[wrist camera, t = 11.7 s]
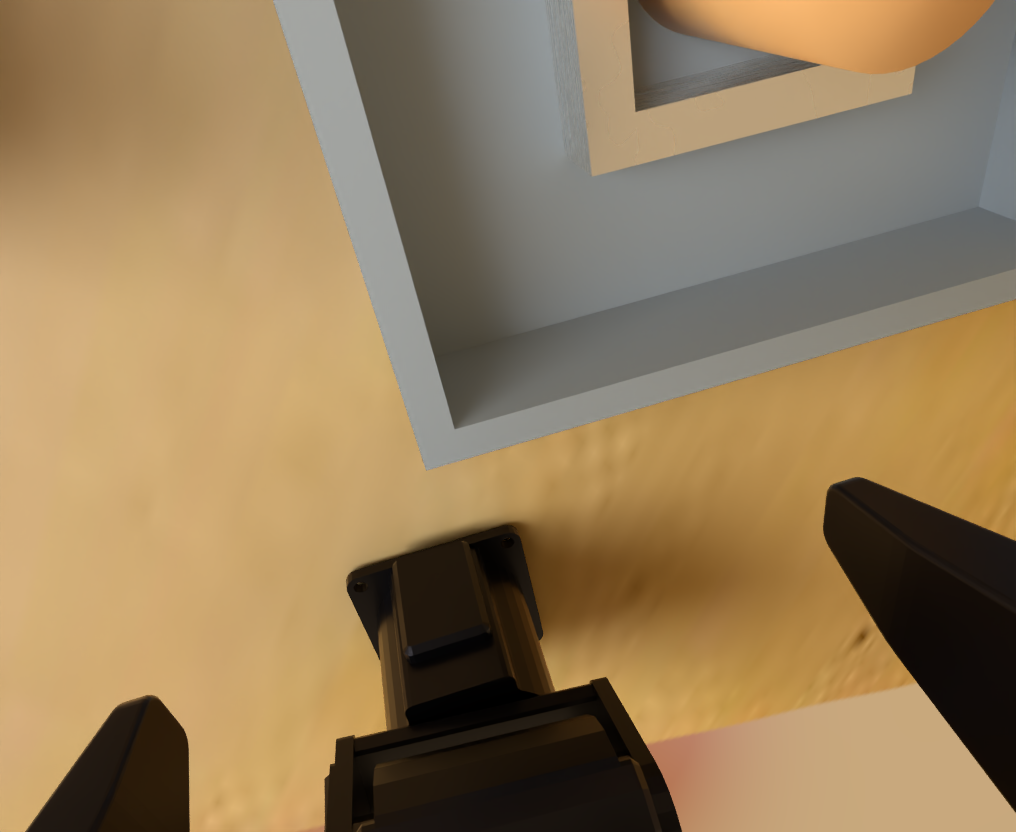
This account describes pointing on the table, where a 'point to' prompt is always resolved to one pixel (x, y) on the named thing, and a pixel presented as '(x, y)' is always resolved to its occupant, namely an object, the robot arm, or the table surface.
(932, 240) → the inlet box
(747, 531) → the table surface
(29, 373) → the table surface
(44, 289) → the table surface
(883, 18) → the peach capsule shape
